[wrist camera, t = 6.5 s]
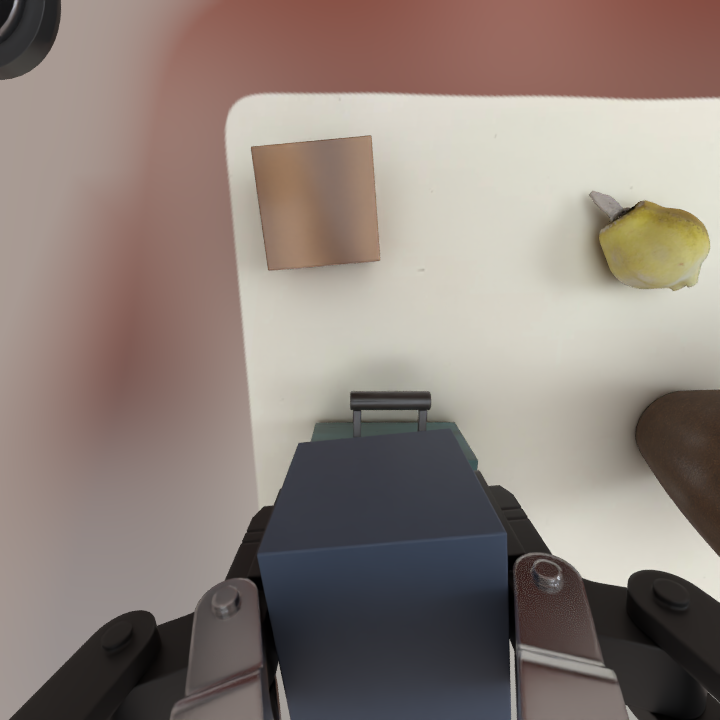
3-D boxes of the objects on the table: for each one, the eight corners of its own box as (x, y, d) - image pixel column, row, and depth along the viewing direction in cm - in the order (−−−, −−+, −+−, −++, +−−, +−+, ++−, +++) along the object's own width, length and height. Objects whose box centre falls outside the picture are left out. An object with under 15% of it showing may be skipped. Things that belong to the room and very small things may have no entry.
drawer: (314, 375, 33) (303, 403, 26) (457, 375, 33) (483, 403, 26) (318, 524, 36) (310, 582, 30) (448, 523, 36) (468, 581, 30)
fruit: (611, 163, 30) (711, 241, 30) (551, 229, 32) (643, 301, 33) (639, 156, 24) (759, 251, 25) (564, 235, 27) (673, 320, 27)
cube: (290, 268, 31) (268, 270, 24) (278, 177, 30) (250, 146, 22) (374, 261, 31) (380, 260, 23) (367, 169, 30) (371, 135, 22)
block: (318, 569, 13) (293, 738, 8) (298, 442, 11) (254, 554, 7) (458, 557, 12) (511, 722, 8) (451, 427, 11) (508, 532, 7)
